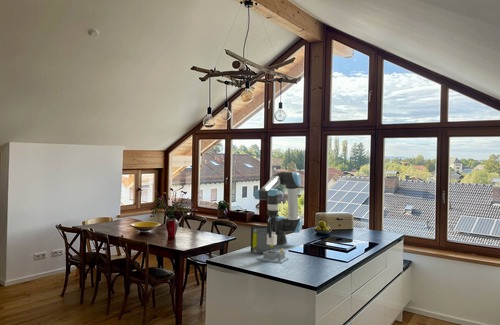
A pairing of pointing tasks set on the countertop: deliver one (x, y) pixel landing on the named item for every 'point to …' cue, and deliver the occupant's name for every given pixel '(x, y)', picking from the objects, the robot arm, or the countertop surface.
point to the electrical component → (260, 240)
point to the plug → (274, 239)
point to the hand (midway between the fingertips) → (271, 241)
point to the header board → (273, 256)
